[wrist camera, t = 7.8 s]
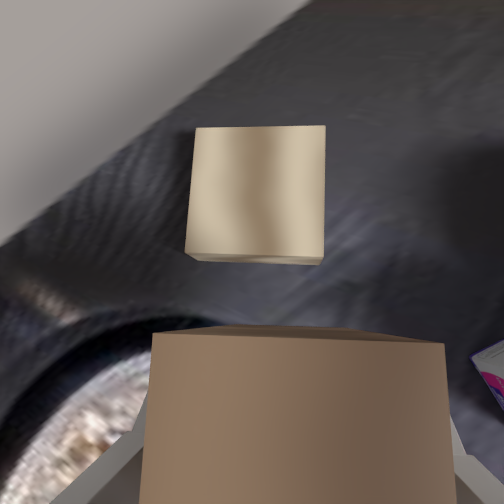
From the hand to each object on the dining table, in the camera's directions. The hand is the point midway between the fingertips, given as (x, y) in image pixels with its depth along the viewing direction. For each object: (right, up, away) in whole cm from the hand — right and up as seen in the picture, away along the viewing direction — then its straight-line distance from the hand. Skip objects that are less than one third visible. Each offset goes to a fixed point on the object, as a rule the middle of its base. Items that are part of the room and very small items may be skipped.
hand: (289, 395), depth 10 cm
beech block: (0, +8, +19) cm, 21 cm away
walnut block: (+1, -2, +5) cm, 5 cm away
